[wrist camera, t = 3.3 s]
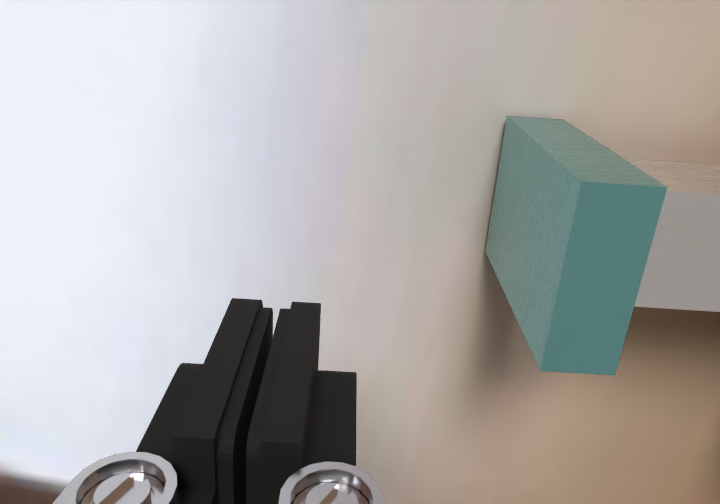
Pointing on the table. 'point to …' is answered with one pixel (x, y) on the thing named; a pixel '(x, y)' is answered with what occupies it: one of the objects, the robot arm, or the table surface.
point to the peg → (597, 241)
